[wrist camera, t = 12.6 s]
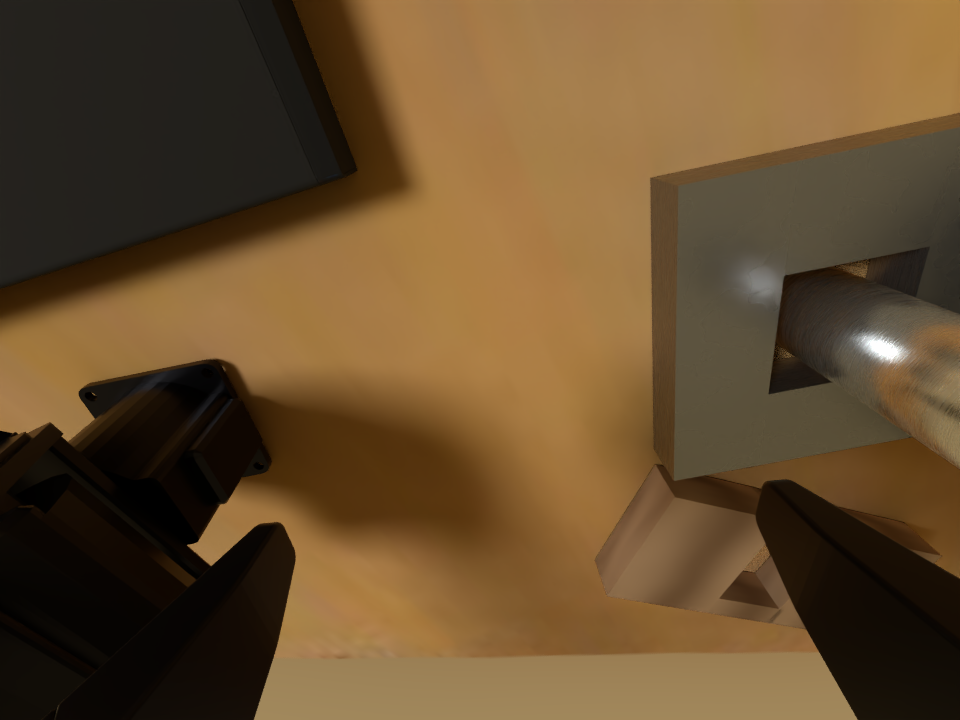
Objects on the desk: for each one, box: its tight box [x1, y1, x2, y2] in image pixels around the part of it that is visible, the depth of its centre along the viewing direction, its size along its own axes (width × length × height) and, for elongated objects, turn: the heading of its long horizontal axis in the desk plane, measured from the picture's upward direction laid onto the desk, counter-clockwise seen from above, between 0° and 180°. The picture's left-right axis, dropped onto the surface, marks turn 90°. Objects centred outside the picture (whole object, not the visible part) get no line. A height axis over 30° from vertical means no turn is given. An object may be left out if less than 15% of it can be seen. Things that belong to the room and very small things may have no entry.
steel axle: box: [775, 266, 960, 469], centre depth 15 cm, size 4×4×13 cm
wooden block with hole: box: [595, 464, 942, 629], centre depth 28 cm, size 18×8×2 cm, turn 72°
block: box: [651, 113, 960, 481], centre depth 20 cm, size 14×14×2 cm
